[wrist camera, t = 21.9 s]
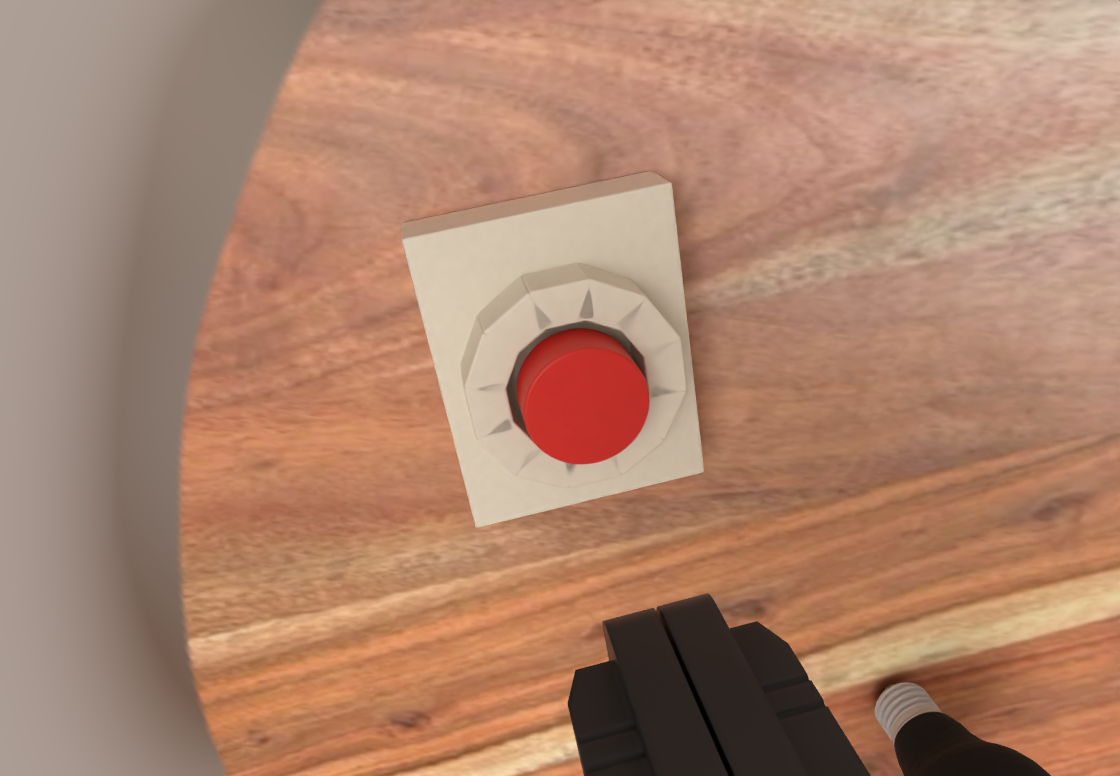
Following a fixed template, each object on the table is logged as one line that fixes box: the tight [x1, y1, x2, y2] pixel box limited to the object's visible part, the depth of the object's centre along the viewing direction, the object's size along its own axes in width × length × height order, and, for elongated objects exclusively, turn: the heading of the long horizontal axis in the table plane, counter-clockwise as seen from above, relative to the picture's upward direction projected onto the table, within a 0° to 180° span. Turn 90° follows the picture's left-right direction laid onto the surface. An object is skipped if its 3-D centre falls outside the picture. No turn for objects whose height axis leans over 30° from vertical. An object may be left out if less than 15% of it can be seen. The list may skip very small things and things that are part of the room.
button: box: [516, 328, 650, 465], centre depth 24 cm, size 4×4×2 cm
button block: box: [402, 171, 704, 528], centre depth 26 cm, size 10×8×4 cm
